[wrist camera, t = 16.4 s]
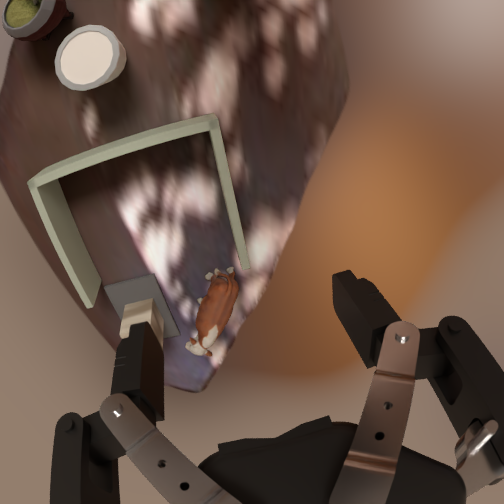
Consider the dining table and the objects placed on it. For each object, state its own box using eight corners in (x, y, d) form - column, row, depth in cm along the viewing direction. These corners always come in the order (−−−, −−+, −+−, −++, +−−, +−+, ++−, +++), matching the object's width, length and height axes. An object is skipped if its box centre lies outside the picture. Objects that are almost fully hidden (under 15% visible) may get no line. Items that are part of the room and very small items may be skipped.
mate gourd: (22, 45, 25) (-50, 40, 12) (36, -12, 21) (-26, -39, 8) (73, 42, 27) (12, 27, 14) (89, -17, 23) (40, -58, 10)
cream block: (124, 305, 45) (119, 334, 40) (152, 298, 45) (150, 327, 40) (137, 326, 47) (133, 356, 42) (163, 320, 48) (162, 350, 42)
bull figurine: (180, 321, 49) (181, 360, 42) (214, 252, 44) (221, 287, 37) (205, 328, 51) (210, 366, 44) (243, 262, 46) (254, 297, 39)
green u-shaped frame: (46, 167, 33) (27, 182, 28) (213, 113, 35) (217, 118, 30) (96, 282, 43) (87, 308, 38) (242, 244, 44) (250, 268, 39)
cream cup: (86, 98, 31) (65, 102, 25) (70, 49, 27) (46, 45, 21) (139, 74, 31) (128, 72, 25) (122, 24, 27) (108, 12, 21)
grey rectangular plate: (104, 286, 43) (103, 288, 43) (154, 273, 44) (153, 275, 43) (135, 342, 50) (135, 344, 49) (180, 332, 50) (180, 334, 50)
